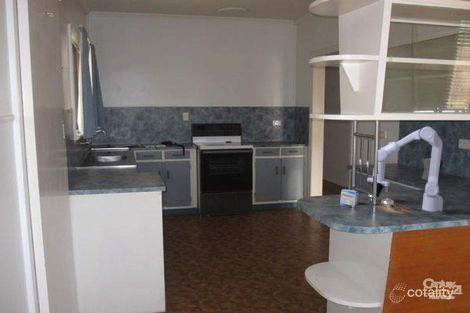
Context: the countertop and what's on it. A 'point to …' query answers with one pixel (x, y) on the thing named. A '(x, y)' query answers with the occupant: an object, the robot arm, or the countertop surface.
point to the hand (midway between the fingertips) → (376, 196)
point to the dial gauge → (371, 199)
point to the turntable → (395, 209)
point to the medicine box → (348, 198)
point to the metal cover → (387, 202)
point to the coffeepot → (428, 167)
